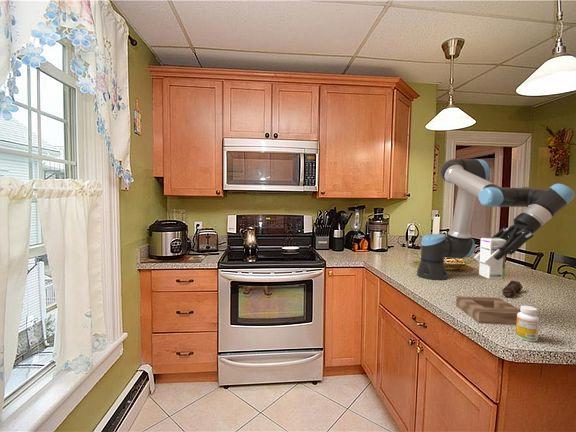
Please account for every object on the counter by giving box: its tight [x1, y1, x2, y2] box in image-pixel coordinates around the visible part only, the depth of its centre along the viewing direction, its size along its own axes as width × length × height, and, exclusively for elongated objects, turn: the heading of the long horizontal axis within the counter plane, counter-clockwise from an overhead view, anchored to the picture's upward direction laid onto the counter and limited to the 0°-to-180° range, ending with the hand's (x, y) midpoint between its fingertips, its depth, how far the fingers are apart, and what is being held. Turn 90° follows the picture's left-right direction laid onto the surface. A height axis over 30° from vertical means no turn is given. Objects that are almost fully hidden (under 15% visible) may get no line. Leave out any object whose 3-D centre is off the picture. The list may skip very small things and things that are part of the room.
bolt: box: [501, 280, 523, 298], centre depth 133 cm, size 6×5×15 cm
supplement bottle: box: [515, 305, 540, 343], centre depth 91 cm, size 5×5×10 cm
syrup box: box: [478, 237, 506, 280], centre depth 108 cm, size 6×6×14 cm
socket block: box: [455, 295, 521, 325], centre depth 109 cm, size 16×16×4 cm
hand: (481, 262), depth 108 cm, fingers closed on syrup box, 6 cm apart
